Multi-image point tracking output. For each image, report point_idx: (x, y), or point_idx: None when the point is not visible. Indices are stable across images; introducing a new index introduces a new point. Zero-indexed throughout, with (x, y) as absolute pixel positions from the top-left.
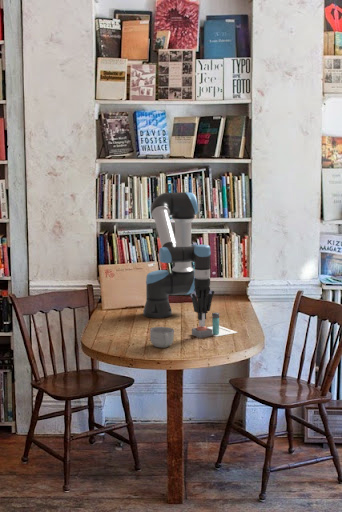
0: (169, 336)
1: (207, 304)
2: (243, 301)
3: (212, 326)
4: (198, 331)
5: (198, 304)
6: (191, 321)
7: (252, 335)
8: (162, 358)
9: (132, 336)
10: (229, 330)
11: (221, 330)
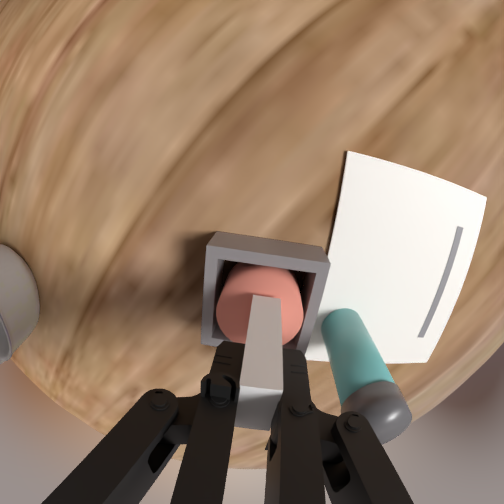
0: (7, 347)
1: (345, 500)
2: None
3: (335, 347)
4: (202, 326)
5: (176, 501)
6: (433, 14)
7: (413, 407)
8: (15, 359)
9: (6, 87)
10: (438, 318)
11: (420, 293)
